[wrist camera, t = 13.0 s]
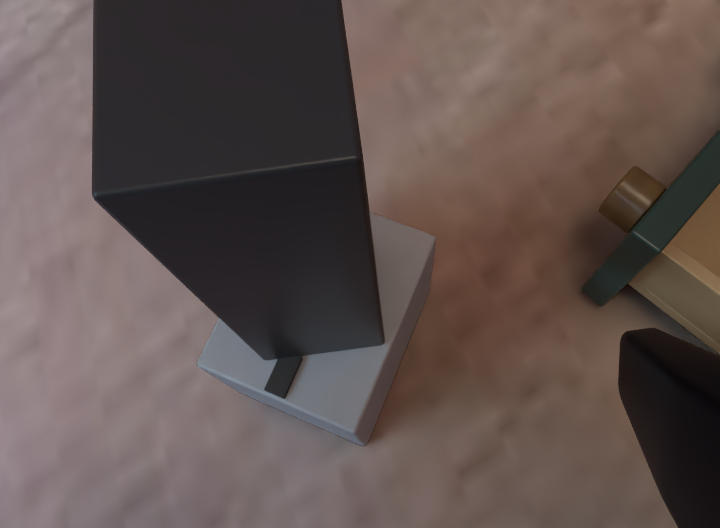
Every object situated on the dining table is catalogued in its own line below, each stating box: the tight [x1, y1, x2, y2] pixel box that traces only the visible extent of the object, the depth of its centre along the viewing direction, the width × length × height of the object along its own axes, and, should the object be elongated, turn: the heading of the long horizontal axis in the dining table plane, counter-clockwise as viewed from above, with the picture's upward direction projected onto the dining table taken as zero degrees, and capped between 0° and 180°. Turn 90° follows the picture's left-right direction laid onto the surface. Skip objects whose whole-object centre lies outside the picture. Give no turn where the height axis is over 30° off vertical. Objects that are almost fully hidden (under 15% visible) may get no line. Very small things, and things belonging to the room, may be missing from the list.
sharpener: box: [92, 0, 436, 446], centre depth 14 cm, size 5×4×14 cm
